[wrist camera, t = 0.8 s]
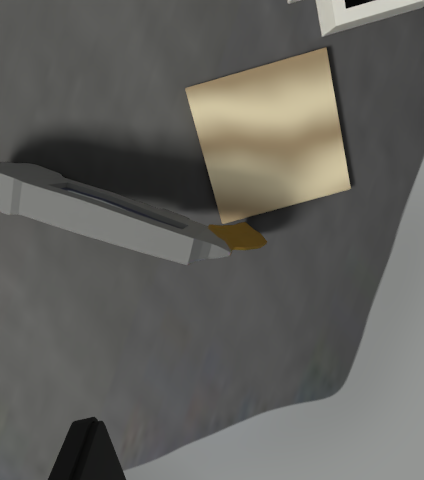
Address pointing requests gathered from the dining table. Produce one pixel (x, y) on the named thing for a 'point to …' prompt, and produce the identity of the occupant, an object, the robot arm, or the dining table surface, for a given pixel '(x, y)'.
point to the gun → (116, 217)
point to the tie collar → (358, 13)
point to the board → (271, 135)
